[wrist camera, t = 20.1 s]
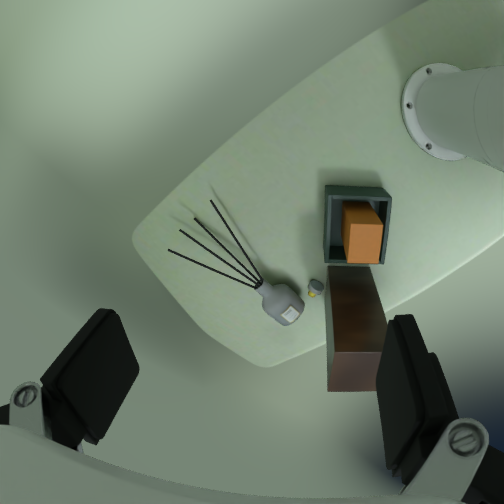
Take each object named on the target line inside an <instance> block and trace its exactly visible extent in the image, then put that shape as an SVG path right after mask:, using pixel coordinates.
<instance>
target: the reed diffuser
mask: <svg viewBox="0 0 504 504" xmlns="http://www.w3.org/2000/svg"><path fill="white" fill-rule="evenodd" d="M210 202H211V203H212V205H213V207H214V208H215V210H216V211H217V213H218V214H219V216H220V217H221V219H222V221H223V222H224V224H225V225H226V227H227V228H228V230H229V231H230V233H231V235H232V236H233V238H234V239H235V241H236V242H237V244H238V245H239V247H240V248H241V250H242V252H243V253H244V255H245V256H246V258H247V259H248V261H249V262H250V264H251V265H252V267H253V268H254V270H255V272H256V273H257V275H258V276H259V278H260V280H258V279H257V278H256V277H255V276H254V275H253V274H252V273H251V272H250V271H249V270H248V269H247V268H246V267H245V266H244V265H243V264H242V263H241V262H240V261H239V260H238V259H237V258H236V257H234V256H233V255H232V254H231V253H230V252H229V251H228V250H227V249H226V248H225V247H224V246H223V245H222V244H221V243H220V242H219V241H218V240H217V239H216V238H215V237H214V236H213V235H212V234H211V233H210V232H209V231H208V230H207V229H206V228H205V227H204V226H203V225H202V224H201V223H200V222H199V221H198V220H197V219H196V218H194V220H195V221H196V222H197V223H198V224H199V225H200V226H201V227H202V228H203V229H204V230H205V231H206V232H207V233H208V234H209V235H210V236H211V237H212V238H213V239H214V240H215V241H216V242H217V243H218V244H219V245H220V246H222V247H223V248H224V249H225V250H226V251H227V252H228V253H229V254H230V255H231V256H232V257H233V258H234V259H235V260H236V261H237V262H238V263H239V264H240V265H241V266H242V267H243V268H244V269H245V270H246V271H247V272H248V273H249V274H250V275H251V276H252V277H253V278H254V279H255V280H256V281H257V283H256V282H255V281H254V280H252V279H251V278H249V277H248V276H246V275H245V274H244V273H242V272H241V271H239V270H238V269H236V268H235V267H233V266H232V265H231V264H229V263H228V262H226V261H225V260H223V259H222V258H221V257H219V256H218V255H216V254H215V253H214V252H212V251H211V250H209V249H208V248H206V247H205V246H204V245H202V244H201V243H199V242H198V241H197V240H195V239H194V238H192V237H191V236H190V235H188V234H187V233H185V232H184V231H182V230H181V229H180V230H179V231H180V232H182V233H183V234H185V235H186V236H187V237H189V238H190V239H192V240H193V241H194V242H196V243H197V244H199V245H200V246H201V247H203V248H204V249H206V250H207V251H209V252H210V253H211V254H213V255H214V256H216V257H217V258H218V259H220V260H221V261H223V262H224V263H226V264H227V265H228V266H230V267H231V268H233V269H234V270H236V271H237V272H239V273H240V274H241V275H243V276H244V277H246V278H247V279H249V280H250V281H252V282H253V283H254V284H256V285H255V286H252V285H250V284H248V283H245V282H243V281H241V280H238V279H236V278H234V277H231V276H229V275H227V274H224V273H222V272H220V271H217V270H215V269H213V268H211V267H208V266H206V265H204V264H201V263H199V262H197V261H195V260H192V259H190V258H188V257H186V256H183V255H181V254H179V253H177V252H174V251H172V250H170V249H168V251H169V252H172V253H174V254H176V255H178V256H181V257H183V258H185V259H187V260H190V261H192V262H194V263H196V264H199V265H201V266H203V267H205V268H208V269H210V270H212V271H215V272H217V273H219V274H222V275H224V276H226V277H229V278H231V279H233V280H236V281H238V282H240V283H243V284H245V285H247V286H250V287H252V288H254V289H255V290H256V291H257V292H258V293H259V294H261V295H262V296H263V301H262V307H263V309H264V311H265V312H266V313H267V314H268V315H269V316H271V317H272V318H273V319H275V320H276V321H278V322H279V323H280V324H282V325H284V326H288V325H290V324H292V323H294V322H295V321H296V320H297V319H298V318H299V317H300V315H301V314H302V312H303V310H304V306H305V304H304V301H303V300H302V299H301V298H300V297H299V296H298V295H297V294H296V293H295V292H294V291H293V290H292V289H291V288H290V287H288V286H287V285H284V284H278V285H274V286H272V285H270V284H269V283H268V282H267V281H266V280H264V279H262V277H261V276H260V274H259V272H258V271H257V269H256V268H255V266H254V265H253V263H252V262H251V260H250V259H249V257H248V255H247V254H246V252H245V251H244V249H243V248H242V246H241V245H240V243H239V242H238V240H237V238H236V237H235V235H234V234H233V232H232V231H231V229H230V228H229V226H228V224H227V223H226V221H225V220H224V218H223V217H222V215H221V214H220V212H219V210H218V209H217V207H216V206H215V204H214V203H213V201H212V200H210ZM308 288H309V292H308V295H309V296H310V297H315V295H316V294H317V295H319V294H321V293H322V291H323V290H324V287H323V285H322V284H321V283H320V282H318V281H315V280H312V281H311V282H310V283H309V285H308Z"/></svg>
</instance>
